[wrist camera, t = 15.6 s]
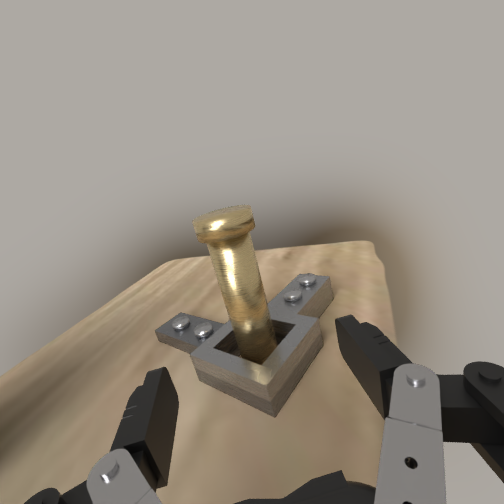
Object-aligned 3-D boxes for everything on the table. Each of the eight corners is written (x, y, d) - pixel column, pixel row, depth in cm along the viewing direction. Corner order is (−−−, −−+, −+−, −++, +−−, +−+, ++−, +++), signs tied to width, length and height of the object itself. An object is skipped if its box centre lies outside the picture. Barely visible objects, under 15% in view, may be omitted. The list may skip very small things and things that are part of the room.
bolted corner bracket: (142, 352, 32) (131, 326, 31) (234, 285, 44) (228, 264, 43) (275, 417, 21) (264, 379, 19) (352, 301, 32) (348, 273, 31)
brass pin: (229, 372, 26) (180, 224, 21) (257, 341, 29) (220, 207, 25) (269, 389, 23) (222, 222, 18) (296, 353, 26) (262, 202, 22)
